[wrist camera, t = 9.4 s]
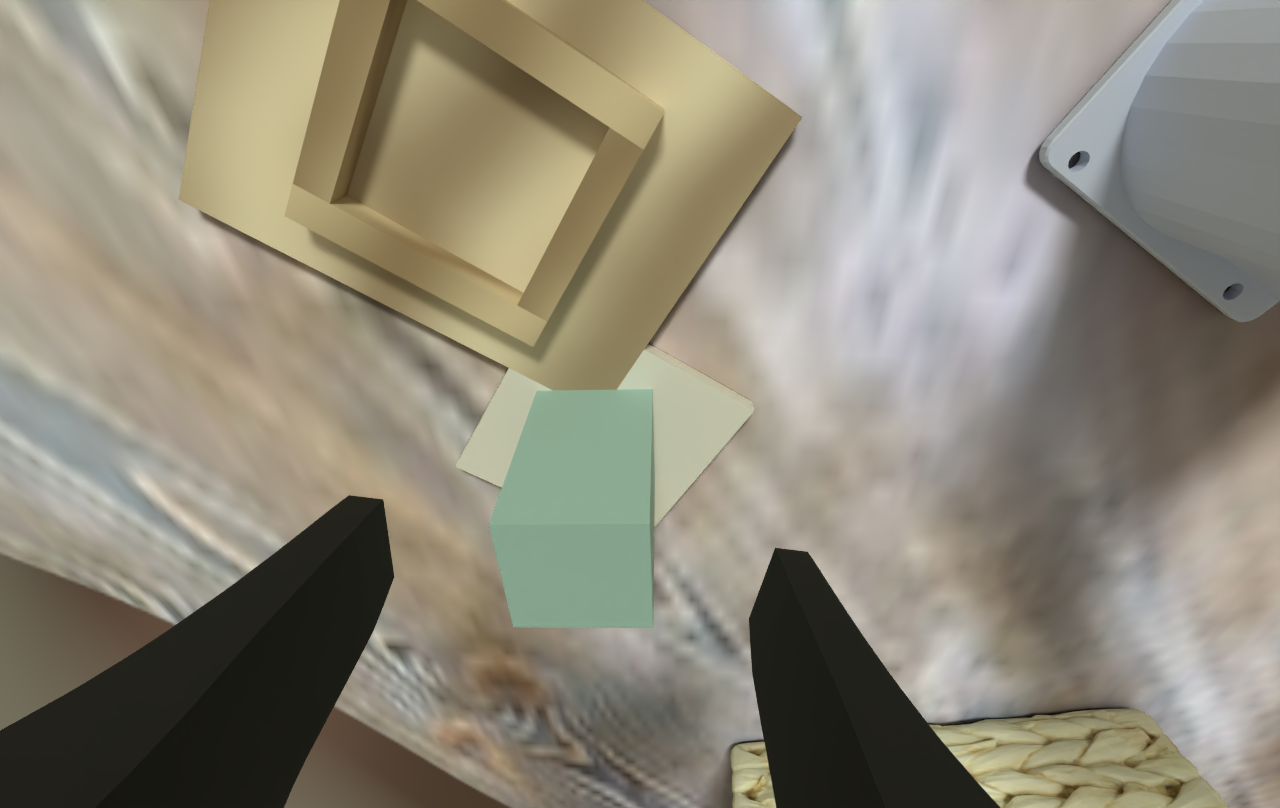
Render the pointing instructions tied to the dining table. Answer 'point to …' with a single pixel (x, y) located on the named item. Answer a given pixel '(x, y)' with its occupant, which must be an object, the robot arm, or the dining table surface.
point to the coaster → (682, 418)
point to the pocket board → (483, 162)
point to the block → (580, 512)
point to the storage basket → (1044, 763)
